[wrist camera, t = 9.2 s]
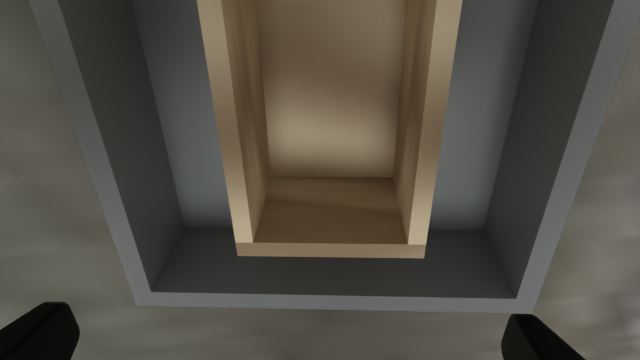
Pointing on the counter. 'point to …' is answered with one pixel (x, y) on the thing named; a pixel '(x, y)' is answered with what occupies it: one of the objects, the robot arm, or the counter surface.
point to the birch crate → (330, 121)
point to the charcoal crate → (452, 173)
